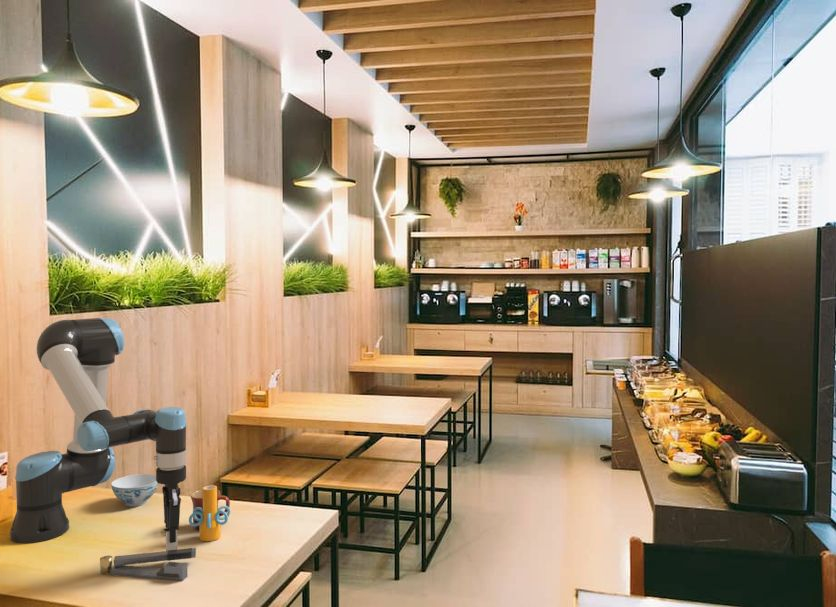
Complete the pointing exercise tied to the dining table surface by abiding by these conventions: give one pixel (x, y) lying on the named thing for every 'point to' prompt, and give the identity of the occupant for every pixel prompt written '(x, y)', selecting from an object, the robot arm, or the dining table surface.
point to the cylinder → (209, 515)
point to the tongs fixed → (144, 570)
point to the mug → (198, 502)
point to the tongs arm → (155, 556)
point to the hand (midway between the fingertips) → (171, 552)
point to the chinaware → (135, 488)
